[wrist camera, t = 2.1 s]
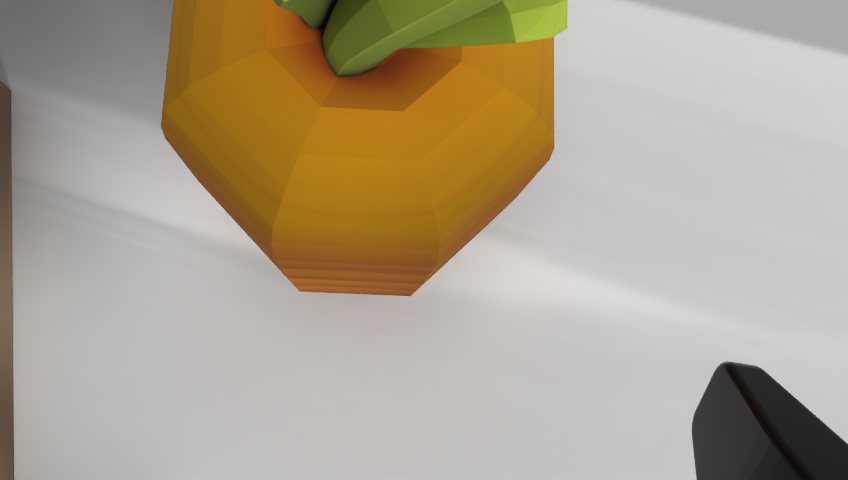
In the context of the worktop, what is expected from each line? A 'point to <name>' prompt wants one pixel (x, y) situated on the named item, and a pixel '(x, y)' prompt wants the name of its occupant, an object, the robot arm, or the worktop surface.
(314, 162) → the carrot
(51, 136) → the worktop surface
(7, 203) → the holder
